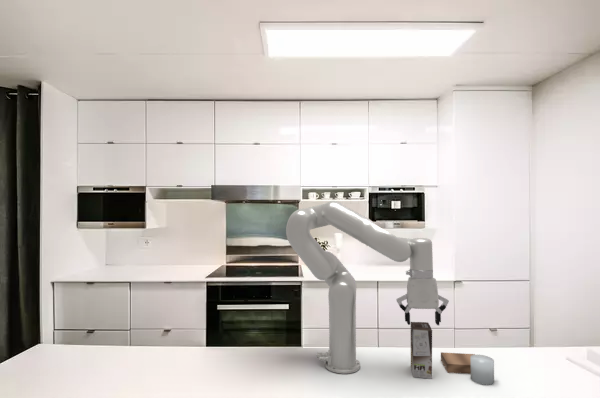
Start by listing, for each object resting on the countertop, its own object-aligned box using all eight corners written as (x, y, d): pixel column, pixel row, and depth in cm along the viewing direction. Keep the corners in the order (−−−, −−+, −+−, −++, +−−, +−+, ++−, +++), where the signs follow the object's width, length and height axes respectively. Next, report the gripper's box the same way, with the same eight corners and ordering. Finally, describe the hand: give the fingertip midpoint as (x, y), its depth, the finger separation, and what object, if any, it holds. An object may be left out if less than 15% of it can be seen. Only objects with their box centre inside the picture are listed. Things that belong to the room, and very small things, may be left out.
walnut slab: (447, 372, 130) (447, 363, 130) (440, 360, 140) (440, 352, 140) (484, 374, 129) (484, 365, 129) (474, 362, 138) (474, 354, 139)
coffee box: (432, 379, 125) (432, 330, 125) (412, 377, 127) (412, 329, 127) (429, 367, 134) (429, 321, 134) (410, 365, 136) (410, 320, 136)
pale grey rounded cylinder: (474, 384, 122) (474, 362, 122) (467, 374, 129) (467, 354, 129) (497, 385, 121) (497, 364, 121) (489, 375, 128) (489, 355, 128)
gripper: (397, 276, 128) (398, 326, 128) (450, 276, 126) (451, 328, 126) (394, 272, 136) (395, 320, 135) (444, 272, 133) (446, 321, 133)
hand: (422, 323), depth 130 cm, fingers open, 9 cm apart
